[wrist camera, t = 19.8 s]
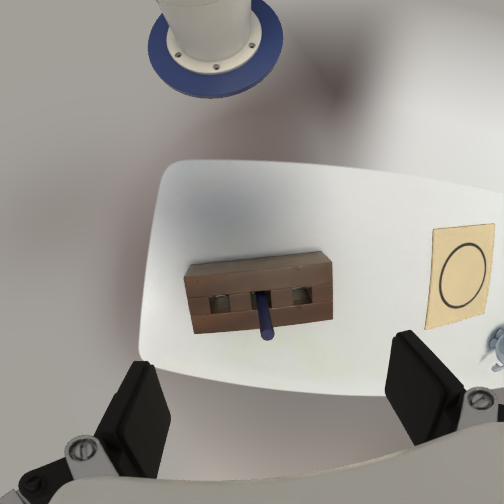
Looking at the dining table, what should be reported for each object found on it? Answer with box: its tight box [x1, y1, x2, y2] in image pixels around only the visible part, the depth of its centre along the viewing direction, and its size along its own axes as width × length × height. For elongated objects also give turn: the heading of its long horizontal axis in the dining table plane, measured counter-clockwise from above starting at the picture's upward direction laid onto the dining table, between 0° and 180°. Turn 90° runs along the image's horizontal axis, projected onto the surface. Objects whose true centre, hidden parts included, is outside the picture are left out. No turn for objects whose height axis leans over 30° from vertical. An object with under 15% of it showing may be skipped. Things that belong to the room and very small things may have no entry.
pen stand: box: [184, 252, 333, 334], centre depth 37 cm, size 7×17×5 cm, turn 96°
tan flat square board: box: [425, 224, 495, 330], centre depth 40 cm, size 16×14×1 cm
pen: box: [255, 291, 274, 341], centre depth 33 cm, size 1×1×13 cm
